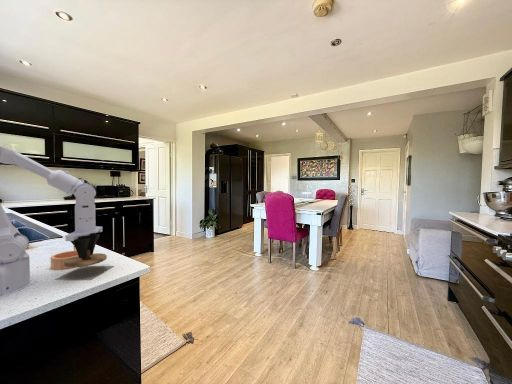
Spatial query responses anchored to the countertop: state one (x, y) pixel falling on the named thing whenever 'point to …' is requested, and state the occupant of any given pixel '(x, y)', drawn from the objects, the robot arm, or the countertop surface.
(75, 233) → the robot arm
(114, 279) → the countertop surface
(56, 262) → the bowl
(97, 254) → the lid
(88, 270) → the mat
